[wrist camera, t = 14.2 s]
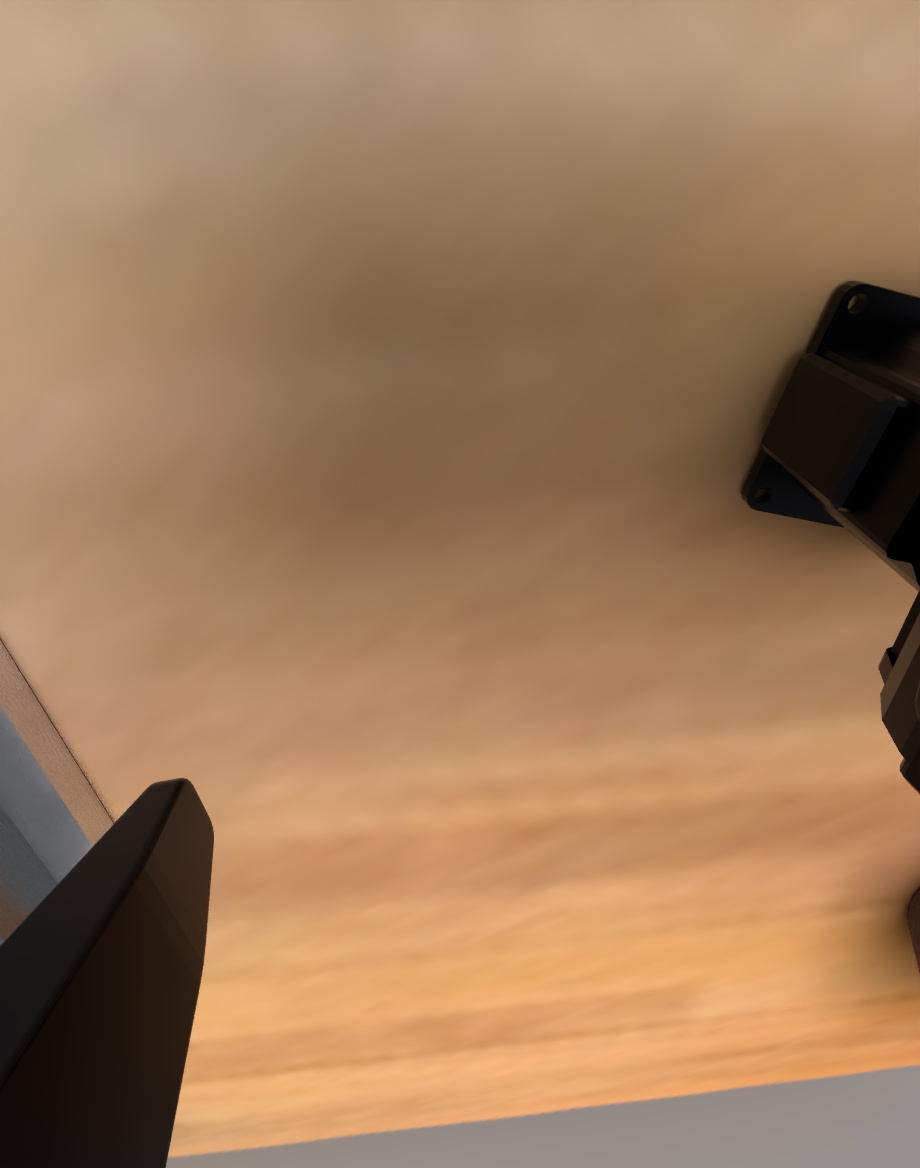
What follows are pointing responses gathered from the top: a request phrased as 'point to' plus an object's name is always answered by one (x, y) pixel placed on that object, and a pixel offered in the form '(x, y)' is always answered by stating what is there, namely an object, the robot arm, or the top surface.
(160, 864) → the robot arm
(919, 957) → the plant pot
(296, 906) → the top surface
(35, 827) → the rail plate
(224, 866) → the top surface
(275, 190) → the top surface
